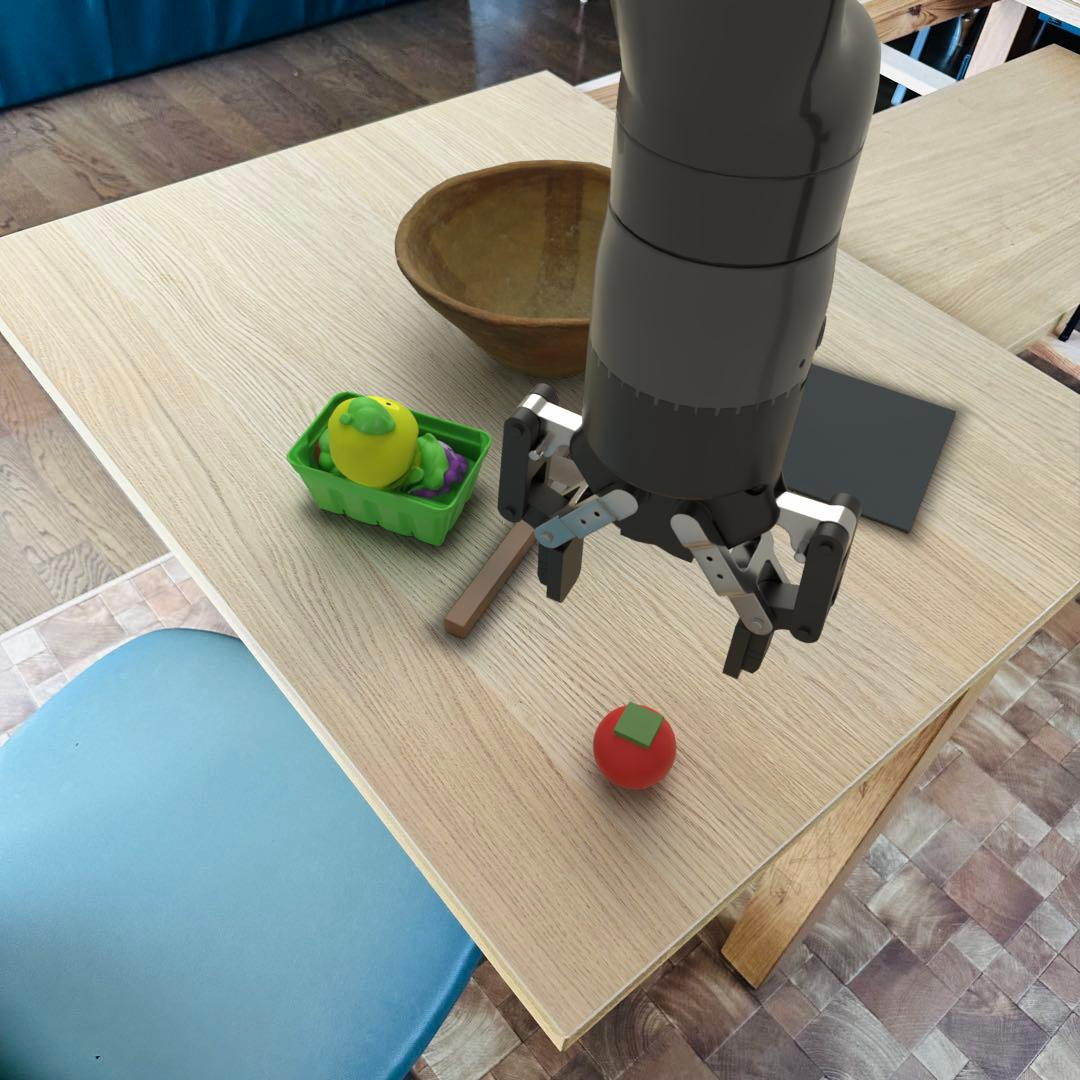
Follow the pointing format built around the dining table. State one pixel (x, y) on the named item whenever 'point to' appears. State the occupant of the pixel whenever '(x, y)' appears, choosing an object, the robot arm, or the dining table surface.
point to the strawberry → (634, 746)
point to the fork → (506, 555)
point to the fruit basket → (390, 465)
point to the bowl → (512, 259)
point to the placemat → (864, 445)
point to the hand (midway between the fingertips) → (648, 624)
